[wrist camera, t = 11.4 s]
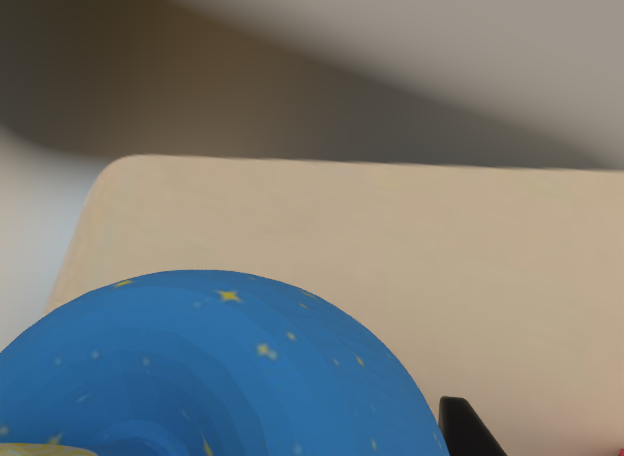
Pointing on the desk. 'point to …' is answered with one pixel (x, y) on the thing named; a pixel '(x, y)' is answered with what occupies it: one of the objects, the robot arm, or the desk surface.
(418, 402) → the ornament
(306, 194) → the desk surface
